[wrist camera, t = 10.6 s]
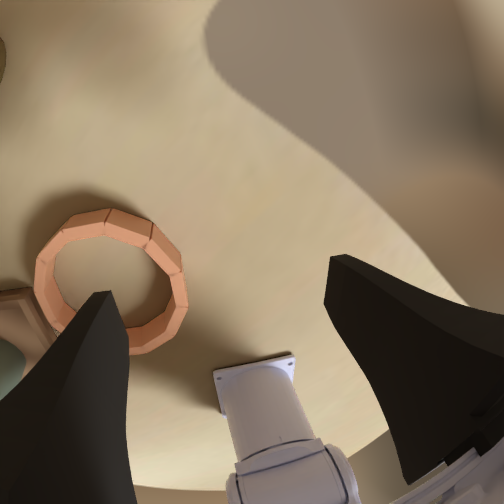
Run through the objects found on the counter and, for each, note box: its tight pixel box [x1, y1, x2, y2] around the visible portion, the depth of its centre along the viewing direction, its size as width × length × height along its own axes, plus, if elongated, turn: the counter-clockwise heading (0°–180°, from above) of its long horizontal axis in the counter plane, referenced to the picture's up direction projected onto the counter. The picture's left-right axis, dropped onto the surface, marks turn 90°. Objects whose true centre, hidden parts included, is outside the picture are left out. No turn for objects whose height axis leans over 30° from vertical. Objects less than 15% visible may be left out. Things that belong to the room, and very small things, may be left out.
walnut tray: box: [0, 287, 57, 380], centre depth 18 cm, size 13×13×2 cm
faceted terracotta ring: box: [34, 208, 189, 355], centre depth 18 cm, size 11×11×2 cm
